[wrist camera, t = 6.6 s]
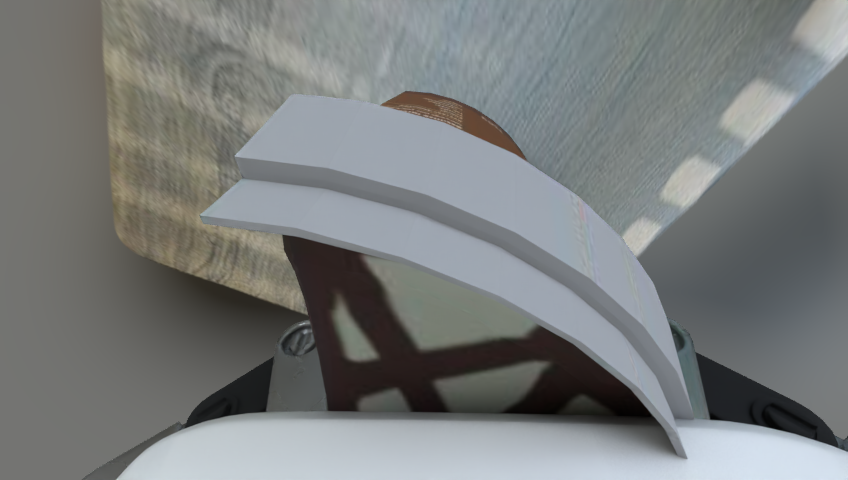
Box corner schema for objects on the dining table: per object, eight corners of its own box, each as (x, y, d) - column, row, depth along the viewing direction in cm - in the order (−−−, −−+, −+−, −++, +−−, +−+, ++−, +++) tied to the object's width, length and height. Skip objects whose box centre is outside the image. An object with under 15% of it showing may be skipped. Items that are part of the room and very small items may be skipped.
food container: (539, 332, 17) (599, 640, 9) (413, 321, 18) (358, 598, 9) (614, 39, 10) (1210, 192, 2) (403, 39, 11) (169, 153, 3)
